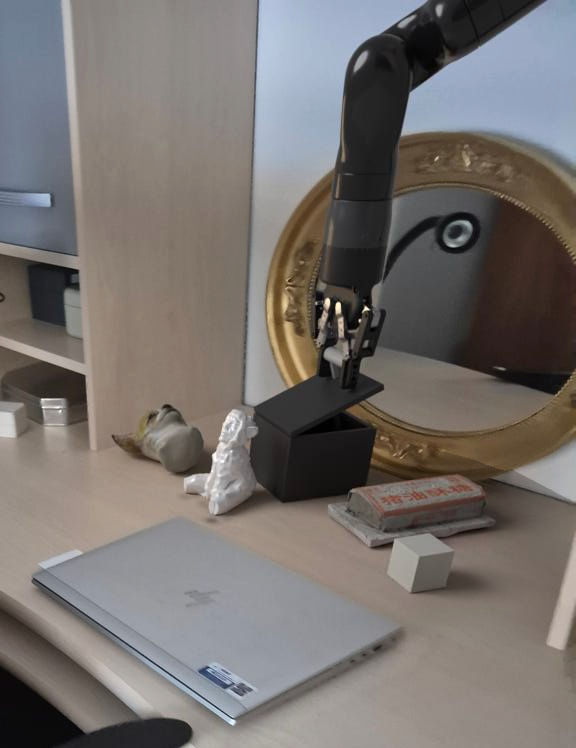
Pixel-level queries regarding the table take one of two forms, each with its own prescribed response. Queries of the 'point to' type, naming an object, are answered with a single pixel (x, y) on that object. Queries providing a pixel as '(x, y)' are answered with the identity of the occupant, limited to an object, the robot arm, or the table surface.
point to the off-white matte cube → (420, 562)
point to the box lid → (316, 398)
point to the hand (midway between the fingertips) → (335, 381)
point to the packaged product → (413, 509)
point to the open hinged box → (313, 458)
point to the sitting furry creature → (228, 467)
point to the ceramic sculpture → (164, 439)
